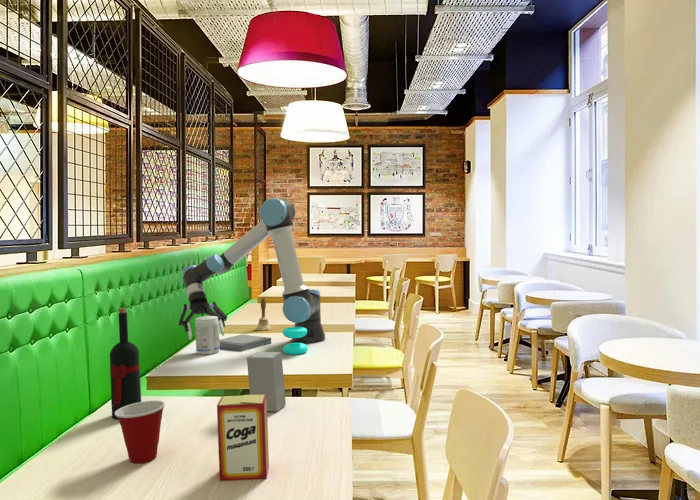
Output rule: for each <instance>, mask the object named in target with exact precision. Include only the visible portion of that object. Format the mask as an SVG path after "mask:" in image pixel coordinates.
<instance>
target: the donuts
mask: <svg viewBox="0 0 700 500" xmlns="http://www.w3.org/2000/svg"><path fill="white" fill-rule="evenodd" d="M306 334H307V329H306V328H304V327H294V326H290V327H285V328H284V329H283V330H282V335H283V337H285V338H288V339H292V338H301V337H304V336H305V335H306ZM308 349H309V347H308V346H307V344H305V343H300V342H290V343H287V344H285V345H284V346H283V349H282V351H283V353H285V355H286V354H287V355H295V356H296V355H302V354H305V353H307V352H308Z"/></svg>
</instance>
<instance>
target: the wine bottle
mask: <svg viewBox="0 0 700 500" xmlns="http://www.w3.org/2000/svg"><path fill="white" fill-rule="evenodd" d="M127 311H128V308H127V307H120V308H118V331H119V342H117V344H115V345H114V346H113V347H112V348H111V350H110V353H109V373H110V375H109V377H110V395H111V396H110V399H111V403H110V405H111V419H114V420H117V421H119V420H118V418H117V416H115V411H117V410H118V409H120V408H122V407H124V406H127V405H130V404H134V403H138V402H142V390H141V387H142V386H141V385H142V384H141V370H140V369H141V368H140V351H139V348H138V347H137V346H136V344H134V343H133V342H131V341H129V329H128V327H129V326H128V312H127Z"/></svg>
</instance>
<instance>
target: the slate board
mask: <svg viewBox="0 0 700 500" xmlns="http://www.w3.org/2000/svg"><path fill="white" fill-rule="evenodd" d="M219 343H220V349H225V350H232V351H239V350H240V351H241V352H243V351H244V350H245V351H248V350H251V349H256V348H258V347H259V348H260V347H262V346H263V347H264V346H267V345H271V344H272V337H267V336H259V335H249V334H248V335H247V334H237V335H235V336H229V337H225V338H219ZM247 349H248V350H247Z"/></svg>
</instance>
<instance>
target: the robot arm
mask: <svg viewBox="0 0 700 500" xmlns="http://www.w3.org/2000/svg"><path fill="white" fill-rule="evenodd" d="M295 216H296V208H295V206H294V204H293V203H292V202H291V201H290V200H287V199H284V198H278V197H273V198H269V199H267V200H264V202H262V204H261V206H260V208H259V217H260V220H261V221H260V222H258V223H257V224H256V225H255V226H254V227H253V228H251V229H250V230H249V231H247V232H246V233H245V234H244V235H242V237H240V238H239V239H238V240H237V241H236V242H234V243H233V244H231V245H230V247H228V248H227V249H226V250H225V251H223V252H222V253H221V254H216V253H213V254H212V255H211V256H208V257H206V259H204V260H203V261H201V262H200V263H199V264H197V265H194V264H190V265H187V266H185V267H183V269H182V270H181V271H182V273H181V275H182V280H183V283H184V287H185V292H186V295H187V299H188V300H187V301H188V302H189V303H188V304H189V305H187V304H186V303H184V304H183V306H182V307H183V308H182V313H181V315H180V319H179V321H178V326H182V327H183V329H184V332H185V333H188V339H189V340H192V338H193V333H192V329H191V324H190V321H191V320H192V319H193V317H194V316H195V315H198V316H199V315H205V314H206V316H217V317H218V323H219V332H220V335H221V337H222V336H225V333H226V331H225V328H226V324H225V322H226V321H227V320H228V315H227V314H226V313H225V312H224V311H223V310H222V309H221V308H220V307H219V306H218V305H217V303H216V301H213V302H211V303H209V302H208V299H207V298H208V297H207V295H206V292H205V291H206V289H205V288H204V284H203V282H205V281H207V280H208V279H210V278H212V277H213V276H215V275H220V274H227V273H228V272H230V271H231V270H232V268H233V266H235V265H236V264H237V263H238V262H239V261H241V260H242V259H243V258H244V257H246V256H247V255H248V254H249V253H250V252H251V251H253V250H254V249H255V248H257V247H258V246H259V245H261V244H262V243H263V242H264V241H265V240H267V238H269V237H270V236H271V239H272V242H273V247H274V248H273V249H274V251H275V255H276V260H277V264H278V266H279V271H280V272H279V273H280V276H281V279H282V284H283V288H284V289H283V292H282V294H281V295H282V298H283V304H282V312H283V315H284V317H285V318H286V319H287V320H288V321H289V322H291V323H294V325H293V327H304V328H306V329H307V334H306V335H305V336H304V337H301V338H291V341H292V342H293V343H303V344H305V343H306V344H308V343H309V344H310V343H317V342H322V341H325V340H326V333H325V331H324V328H323V325H322V322H321V321H322V318H321V317H322V316H321V315H322V314H321V312H322V311H321V291H320V290H319V289H317V288H316V289H315V288H314V289H311V288H309V287H308V286H306V285H305V284H304V279H303V276H302V275H303V274H302V270H301V267H300V264H299V258H298V254H297V250H296V245H295V242H294V238H293V237H294V236H293V233H292V229H293V228H294V222H293V221H294V219H295ZM189 310H190V311H191V312H190V313H189V314H188V315H187V314H186V313H187V312H188V311H189ZM186 315H187V317H186V318H185V316H186ZM184 319H185V320H184Z"/></svg>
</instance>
